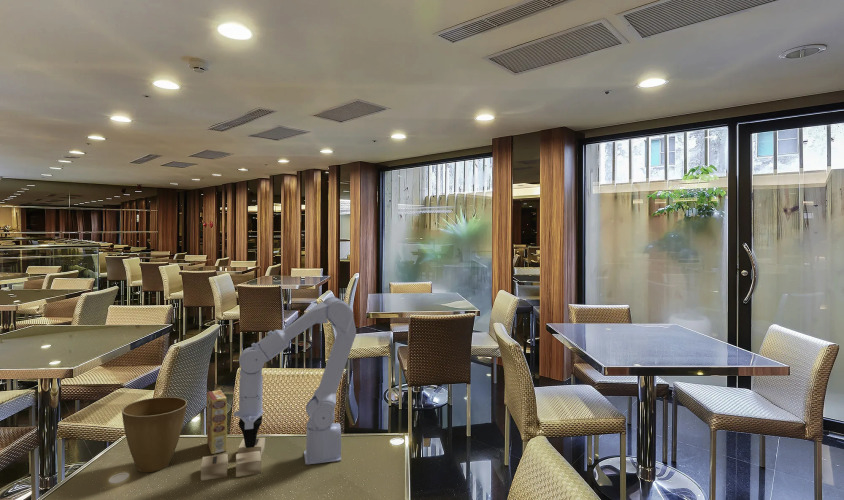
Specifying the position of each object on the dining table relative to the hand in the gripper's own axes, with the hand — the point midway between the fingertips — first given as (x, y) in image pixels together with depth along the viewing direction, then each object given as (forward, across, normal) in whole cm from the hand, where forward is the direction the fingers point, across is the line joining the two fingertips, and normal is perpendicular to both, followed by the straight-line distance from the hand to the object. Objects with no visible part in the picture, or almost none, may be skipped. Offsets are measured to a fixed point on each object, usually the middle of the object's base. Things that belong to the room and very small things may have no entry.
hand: (250, 446), depth 122 cm
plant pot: (+6, -8, -24) cm, 26 cm away
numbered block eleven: (+6, -9, 0) cm, 11 cm away
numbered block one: (+6, 0, -8) cm, 10 cm away
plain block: (+6, 0, 0) cm, 6 cm away
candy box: (+6, -16, -10) cm, 20 cm away
